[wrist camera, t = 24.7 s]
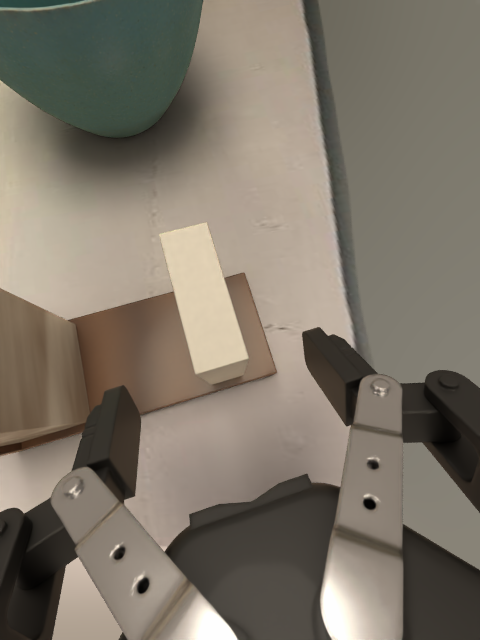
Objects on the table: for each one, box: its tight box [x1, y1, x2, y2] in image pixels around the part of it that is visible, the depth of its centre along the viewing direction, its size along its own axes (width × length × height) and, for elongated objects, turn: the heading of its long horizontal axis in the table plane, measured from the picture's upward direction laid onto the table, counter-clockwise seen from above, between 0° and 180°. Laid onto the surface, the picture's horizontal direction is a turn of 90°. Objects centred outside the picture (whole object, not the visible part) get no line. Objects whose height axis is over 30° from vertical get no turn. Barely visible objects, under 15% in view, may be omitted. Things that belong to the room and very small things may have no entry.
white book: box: [159, 222, 249, 385], centre depth 18 cm, size 2×7×8 cm, turn 17°
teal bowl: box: [0, 0, 203, 138], centre depth 23 cm, size 18×18×12 cm
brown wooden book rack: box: [0, 273, 277, 456], centre depth 18 cm, size 19×8×10 cm, turn 107°
